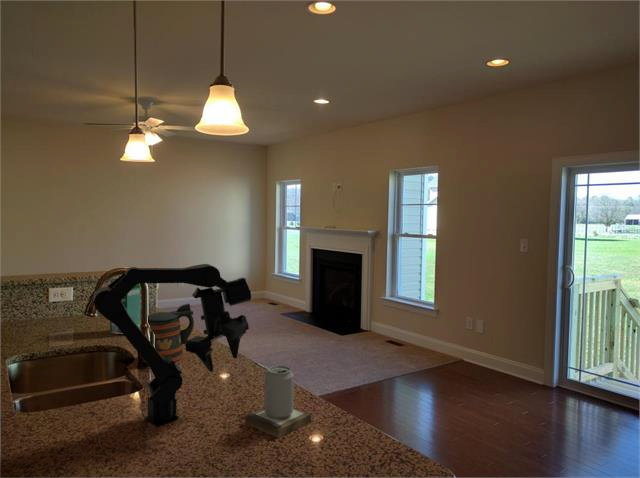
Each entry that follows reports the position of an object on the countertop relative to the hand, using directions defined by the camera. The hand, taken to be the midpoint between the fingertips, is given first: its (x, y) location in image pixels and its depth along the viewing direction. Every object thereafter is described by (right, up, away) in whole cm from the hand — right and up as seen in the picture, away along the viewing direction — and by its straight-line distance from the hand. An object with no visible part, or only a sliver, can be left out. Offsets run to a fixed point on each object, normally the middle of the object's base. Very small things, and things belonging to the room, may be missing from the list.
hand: (223, 364), depth 128 cm
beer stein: (-30, -10, +45) cm, 55 cm away
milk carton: (-61, -8, +81) cm, 102 cm away
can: (+16, -11, -7) cm, 21 cm away
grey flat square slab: (+16, -13, -7) cm, 22 cm away
